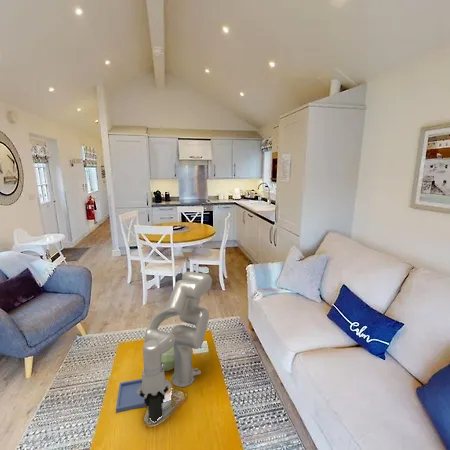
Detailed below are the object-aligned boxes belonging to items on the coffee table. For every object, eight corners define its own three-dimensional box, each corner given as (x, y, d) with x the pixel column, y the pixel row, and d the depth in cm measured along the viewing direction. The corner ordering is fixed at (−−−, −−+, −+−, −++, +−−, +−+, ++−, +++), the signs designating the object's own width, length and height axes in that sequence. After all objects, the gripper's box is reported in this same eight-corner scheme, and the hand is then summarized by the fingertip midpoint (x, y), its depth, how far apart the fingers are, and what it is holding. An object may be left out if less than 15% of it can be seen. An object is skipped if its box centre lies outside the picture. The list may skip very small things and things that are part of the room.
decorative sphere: (183, 358, 160) (182, 336, 156) (176, 377, 145) (175, 354, 142) (159, 356, 161) (158, 335, 158) (150, 375, 146) (148, 352, 143)
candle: (157, 410, 125) (154, 364, 120) (163, 416, 122) (161, 370, 117) (147, 417, 122) (144, 371, 116) (154, 424, 118) (151, 377, 113)
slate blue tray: (151, 380, 143) (151, 376, 143) (151, 405, 128) (151, 401, 128) (120, 386, 139) (119, 382, 139) (116, 412, 124) (115, 409, 123)
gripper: (172, 358, 122) (173, 391, 126) (132, 365, 118) (135, 399, 121) (173, 370, 115) (174, 404, 119) (131, 378, 111) (134, 413, 114)
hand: (154, 401), depth 120 cm, fingers closed on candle, 6 cm apart
